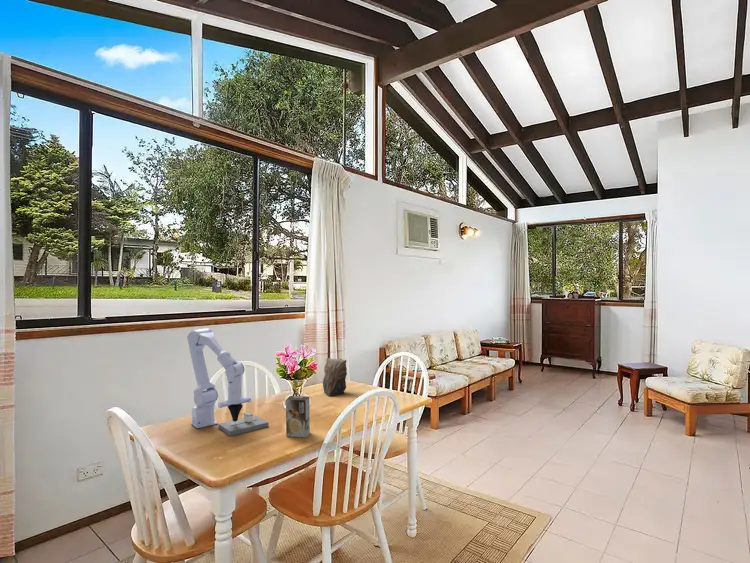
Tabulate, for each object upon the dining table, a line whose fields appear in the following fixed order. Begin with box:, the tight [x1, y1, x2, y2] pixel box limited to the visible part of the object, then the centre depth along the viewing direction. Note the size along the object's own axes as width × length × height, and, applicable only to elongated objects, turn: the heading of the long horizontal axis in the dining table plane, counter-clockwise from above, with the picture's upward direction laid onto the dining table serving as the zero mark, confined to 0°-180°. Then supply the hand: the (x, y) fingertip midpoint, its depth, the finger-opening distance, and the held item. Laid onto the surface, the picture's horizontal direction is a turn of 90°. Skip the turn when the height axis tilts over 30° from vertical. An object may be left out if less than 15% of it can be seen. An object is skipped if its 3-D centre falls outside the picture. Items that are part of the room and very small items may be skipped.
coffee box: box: [285, 395, 311, 438], centre depth 188 cm, size 9×6×16 cm
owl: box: [322, 357, 348, 397], centre depth 255 cm, size 13×13×20 cm
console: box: [217, 414, 269, 437], centre depth 197 cm, size 18×13×2 cm
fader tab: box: [243, 411, 254, 422], centre depth 198 cm, size 2×4×3 cm, turn 41°
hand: (234, 420), depth 194 cm, fingers closed
